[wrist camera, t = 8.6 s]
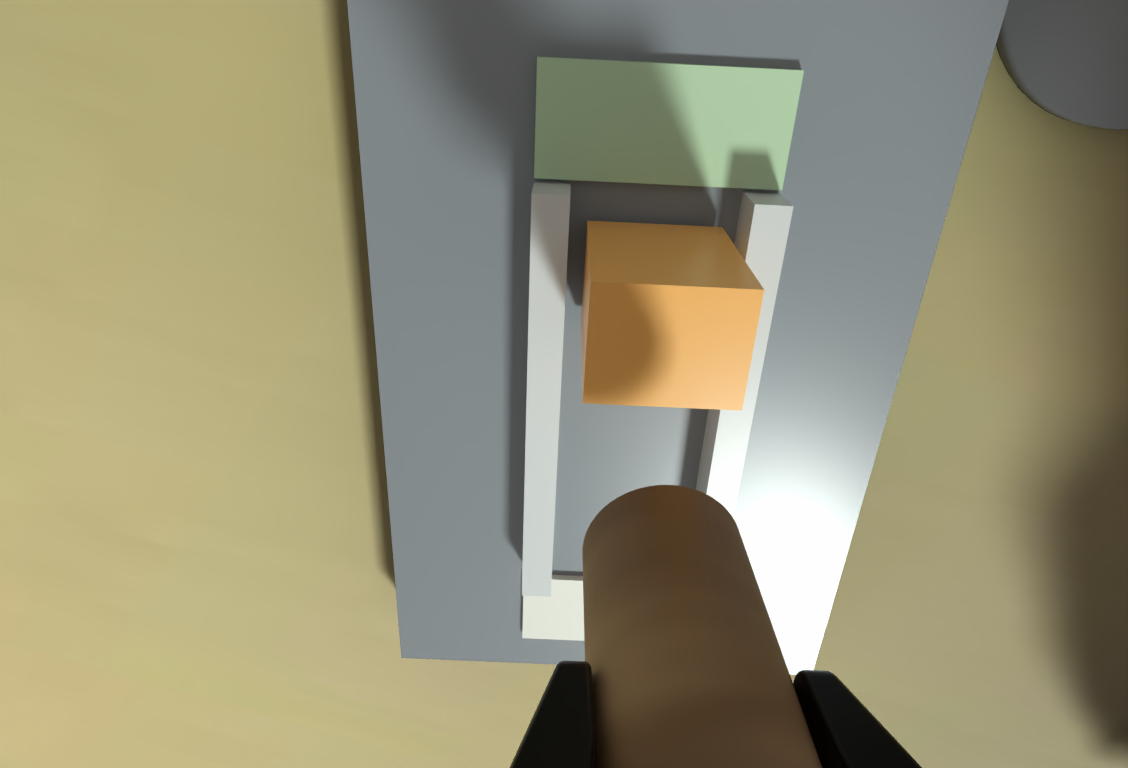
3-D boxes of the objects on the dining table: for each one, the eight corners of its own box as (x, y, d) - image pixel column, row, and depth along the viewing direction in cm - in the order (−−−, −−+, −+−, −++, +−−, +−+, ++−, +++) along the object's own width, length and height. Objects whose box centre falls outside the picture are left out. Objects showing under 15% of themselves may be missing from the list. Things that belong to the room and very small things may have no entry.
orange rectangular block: (707, 327, 17) (742, 410, 14) (581, 320, 17) (582, 403, 14) (722, 227, 16) (764, 290, 12) (587, 220, 16) (590, 281, 12)
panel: (795, 627, 25) (823, 707, 22) (413, 610, 25) (393, 689, 22) (961, -3, 16) (1045, -5, 13) (369, -34, 16) (324, -42, 13)
